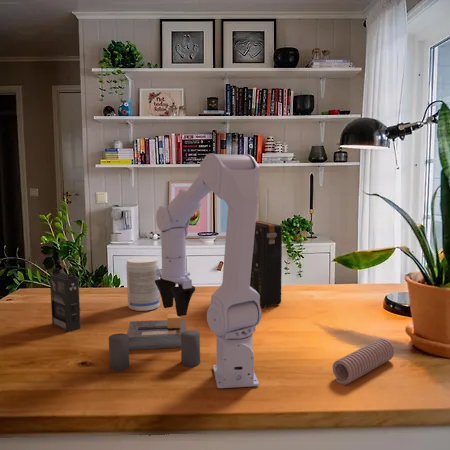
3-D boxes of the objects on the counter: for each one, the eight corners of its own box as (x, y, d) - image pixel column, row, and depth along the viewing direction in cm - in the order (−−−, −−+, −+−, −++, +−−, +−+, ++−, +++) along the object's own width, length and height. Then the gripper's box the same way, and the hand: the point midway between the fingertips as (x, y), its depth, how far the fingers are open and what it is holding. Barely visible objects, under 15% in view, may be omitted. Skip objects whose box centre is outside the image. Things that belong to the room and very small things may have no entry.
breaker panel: (187, 347, 104) (187, 333, 103) (126, 350, 102) (125, 336, 102) (185, 330, 114) (185, 318, 114) (130, 332, 113) (130, 320, 112)
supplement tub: (165, 308, 133) (164, 260, 131) (136, 314, 128) (134, 264, 126) (150, 300, 141) (149, 255, 139) (122, 306, 135) (121, 258, 134)
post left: (128, 370, 92) (127, 340, 91) (108, 371, 91) (107, 341, 91) (130, 362, 96) (129, 333, 95) (111, 363, 95) (110, 333, 95)
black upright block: (236, 296, 146) (236, 220, 143) (259, 292, 149) (259, 219, 146) (260, 309, 132) (260, 225, 128) (284, 305, 135) (285, 224, 132)
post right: (200, 366, 94) (200, 336, 93) (181, 367, 93) (181, 337, 92) (199, 358, 97) (199, 329, 97) (181, 359, 97) (180, 330, 96)
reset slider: (180, 328, 107) (180, 317, 107) (167, 328, 107) (167, 318, 106) (180, 323, 110) (179, 313, 110) (167, 324, 110) (167, 314, 109)
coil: (376, 336, 99) (328, 359, 87) (396, 339, 95) (349, 364, 83) (377, 356, 99) (330, 382, 87) (397, 361, 96) (350, 388, 84)
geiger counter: (86, 328, 117) (84, 272, 115) (70, 332, 113) (67, 275, 111) (66, 319, 123) (63, 266, 122) (50, 323, 120) (47, 269, 118)
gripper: (203, 259, 102) (203, 316, 104) (175, 250, 114) (176, 301, 116) (175, 262, 98) (176, 321, 100) (149, 252, 111) (151, 305, 112)
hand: (174, 311), depth 108 cm, fingers open, 7 cm apart
